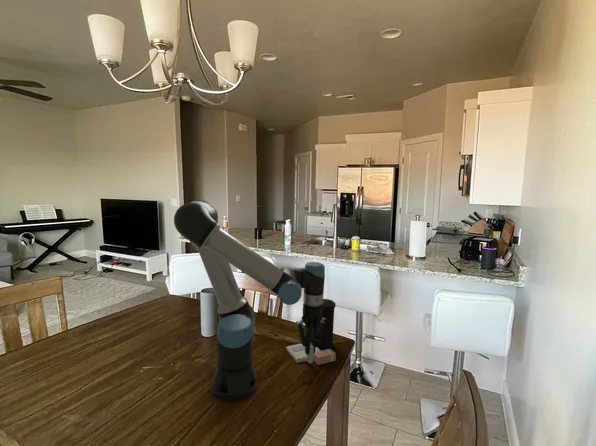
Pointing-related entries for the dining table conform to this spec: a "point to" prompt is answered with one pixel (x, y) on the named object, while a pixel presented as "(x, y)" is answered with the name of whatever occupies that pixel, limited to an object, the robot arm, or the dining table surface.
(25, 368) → the dining table surface
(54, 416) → the dining table surface
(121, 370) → the dining table surface
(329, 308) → the container
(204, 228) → the robot arm
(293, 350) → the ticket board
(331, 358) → the pink banded block
